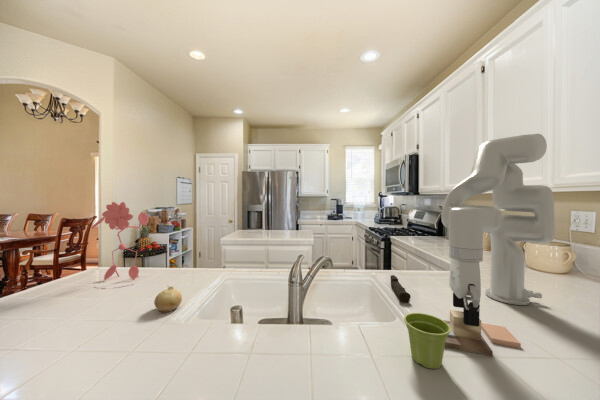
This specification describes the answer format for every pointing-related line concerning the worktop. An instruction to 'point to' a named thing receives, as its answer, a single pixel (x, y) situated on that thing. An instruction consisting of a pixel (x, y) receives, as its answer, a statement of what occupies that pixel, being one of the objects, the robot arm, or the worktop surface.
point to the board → (468, 344)
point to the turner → (463, 327)
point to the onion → (168, 300)
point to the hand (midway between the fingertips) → (465, 315)
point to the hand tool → (399, 290)
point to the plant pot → (427, 338)
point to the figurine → (120, 218)
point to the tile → (500, 335)
